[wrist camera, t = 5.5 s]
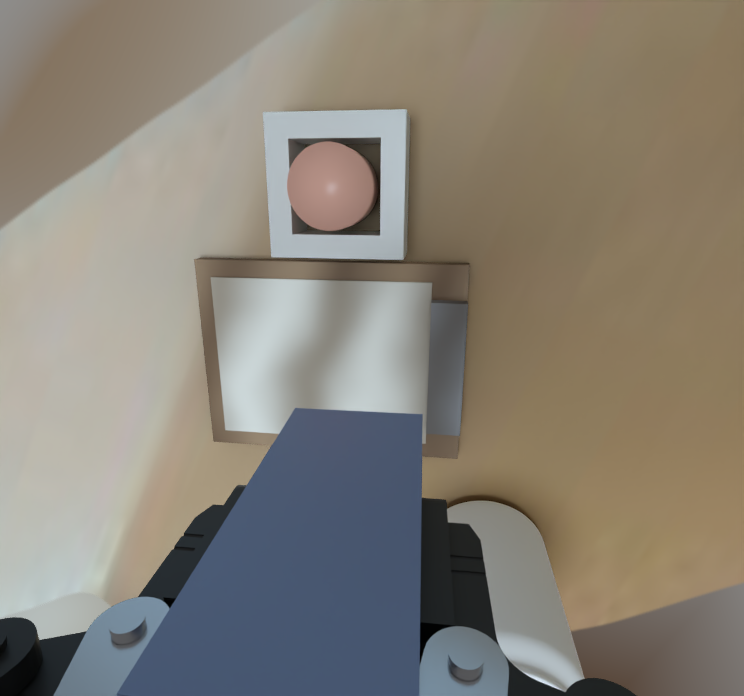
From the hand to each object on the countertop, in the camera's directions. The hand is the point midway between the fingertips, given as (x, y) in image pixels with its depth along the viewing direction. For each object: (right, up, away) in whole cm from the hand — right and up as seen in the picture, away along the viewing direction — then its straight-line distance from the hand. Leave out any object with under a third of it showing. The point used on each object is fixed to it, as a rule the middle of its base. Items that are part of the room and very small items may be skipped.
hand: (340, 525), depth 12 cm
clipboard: (-2, +4, +19) cm, 19 cm away
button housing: (-1, +13, +16) cm, 20 cm away
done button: (-1, +13, +14) cm, 19 cm away
